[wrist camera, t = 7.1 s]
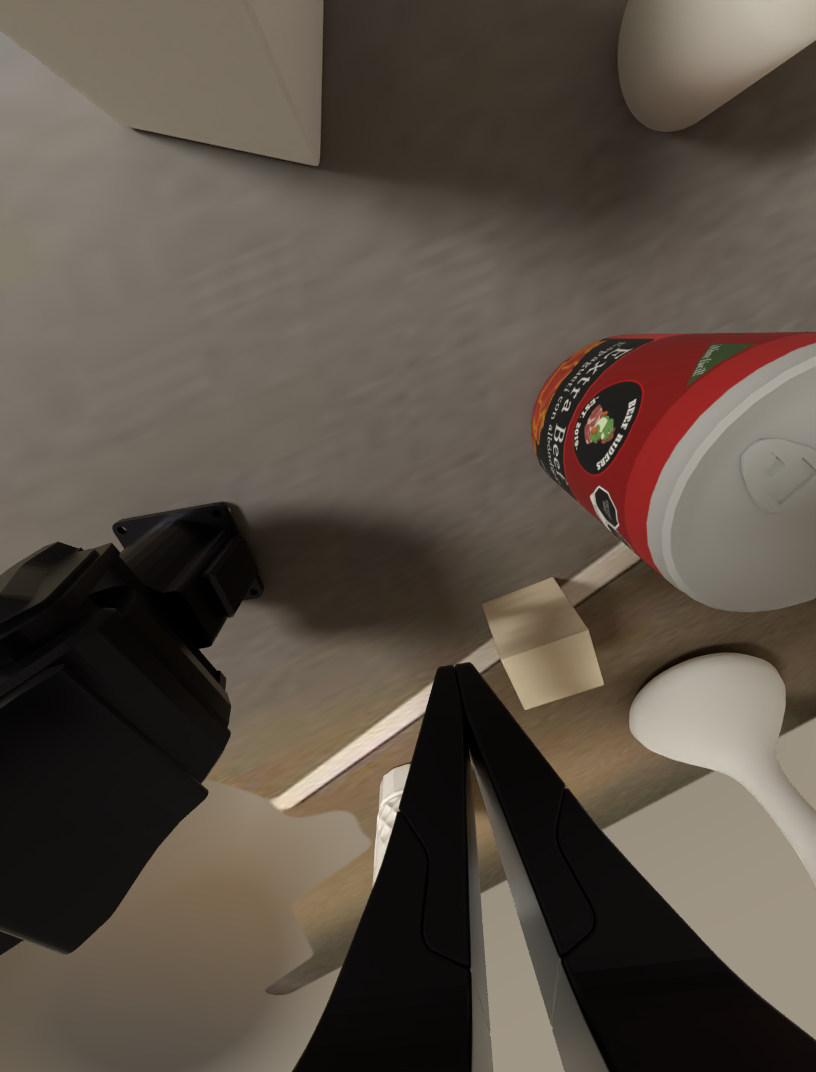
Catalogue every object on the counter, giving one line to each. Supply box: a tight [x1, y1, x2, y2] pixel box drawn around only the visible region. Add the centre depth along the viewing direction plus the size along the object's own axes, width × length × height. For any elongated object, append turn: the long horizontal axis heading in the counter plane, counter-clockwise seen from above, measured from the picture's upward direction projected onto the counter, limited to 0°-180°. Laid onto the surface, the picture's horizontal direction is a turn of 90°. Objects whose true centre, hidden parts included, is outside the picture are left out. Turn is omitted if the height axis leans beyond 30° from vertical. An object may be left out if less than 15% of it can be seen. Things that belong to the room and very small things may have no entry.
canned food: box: [532, 332, 816, 612], centre depth 14 cm, size 8×8×11 cm
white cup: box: [372, 763, 411, 889], centre depth 31 cm, size 8×8×10 cm
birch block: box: [482, 577, 604, 710], centre depth 23 cm, size 5×5×5 cm
